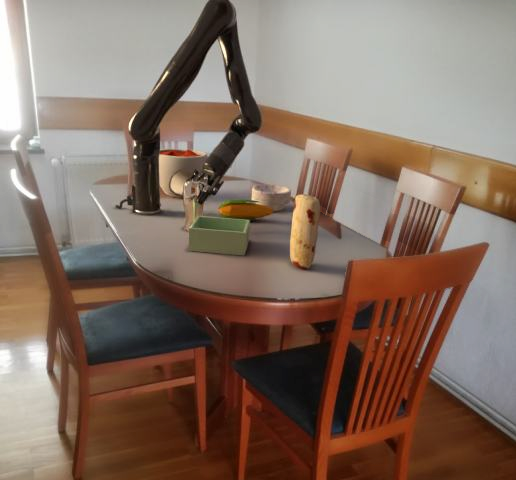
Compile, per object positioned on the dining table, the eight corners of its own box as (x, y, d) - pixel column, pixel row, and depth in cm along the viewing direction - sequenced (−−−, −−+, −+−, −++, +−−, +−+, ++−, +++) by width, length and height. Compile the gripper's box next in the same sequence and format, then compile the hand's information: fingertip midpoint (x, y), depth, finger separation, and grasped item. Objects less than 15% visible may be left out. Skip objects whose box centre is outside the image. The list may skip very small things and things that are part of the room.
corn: (217, 195, 186) (271, 196, 191) (216, 216, 190) (270, 216, 195) (220, 202, 180) (276, 202, 184) (219, 223, 184) (274, 223, 189)
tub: (188, 250, 155) (188, 228, 151) (197, 236, 167) (197, 215, 164) (244, 255, 154) (245, 232, 151) (248, 241, 167) (249, 220, 164)
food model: (282, 261, 151) (288, 191, 142) (302, 259, 154) (309, 190, 145) (299, 273, 144) (307, 199, 134) (320, 270, 147) (329, 198, 137)
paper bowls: (262, 214, 197) (263, 193, 194) (244, 205, 209) (245, 184, 205) (296, 212, 204) (298, 191, 200) (277, 203, 216) (279, 183, 212)
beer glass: (207, 228, 177) (208, 182, 170) (198, 233, 171) (199, 186, 164) (188, 225, 179) (188, 180, 171) (179, 230, 173) (179, 183, 166)
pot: (220, 196, 220) (222, 151, 212) (184, 205, 202) (184, 157, 194) (176, 186, 231) (176, 144, 223) (138, 194, 213) (136, 148, 204)
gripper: (200, 149, 173) (171, 188, 171) (227, 156, 164) (197, 197, 162) (212, 165, 179) (185, 202, 177) (239, 172, 169) (210, 212, 168)
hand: (191, 200), depth 169 cm, fingers open, 8 cm apart
